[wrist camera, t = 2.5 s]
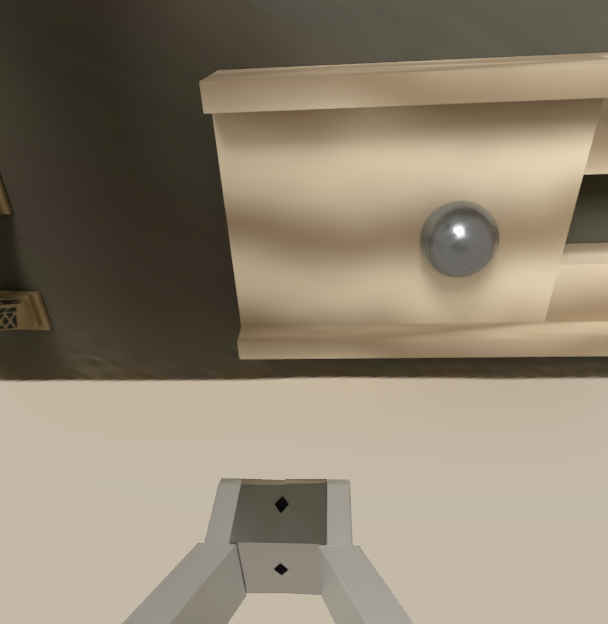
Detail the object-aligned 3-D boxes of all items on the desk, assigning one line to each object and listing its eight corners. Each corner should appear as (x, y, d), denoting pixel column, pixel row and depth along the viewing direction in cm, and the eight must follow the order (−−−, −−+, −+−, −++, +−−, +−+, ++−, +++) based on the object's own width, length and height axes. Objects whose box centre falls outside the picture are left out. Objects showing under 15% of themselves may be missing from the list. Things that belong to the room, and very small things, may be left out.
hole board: (218, 70, 23) (190, 86, 18) (782, 44, 21) (909, 56, 17) (249, 319, 30) (235, 376, 26) (668, 314, 29) (733, 373, 24)
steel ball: (417, 191, 23) (430, 219, 20) (492, 188, 23) (517, 216, 20) (411, 258, 25) (423, 292, 22) (481, 256, 24) (502, 291, 22)
